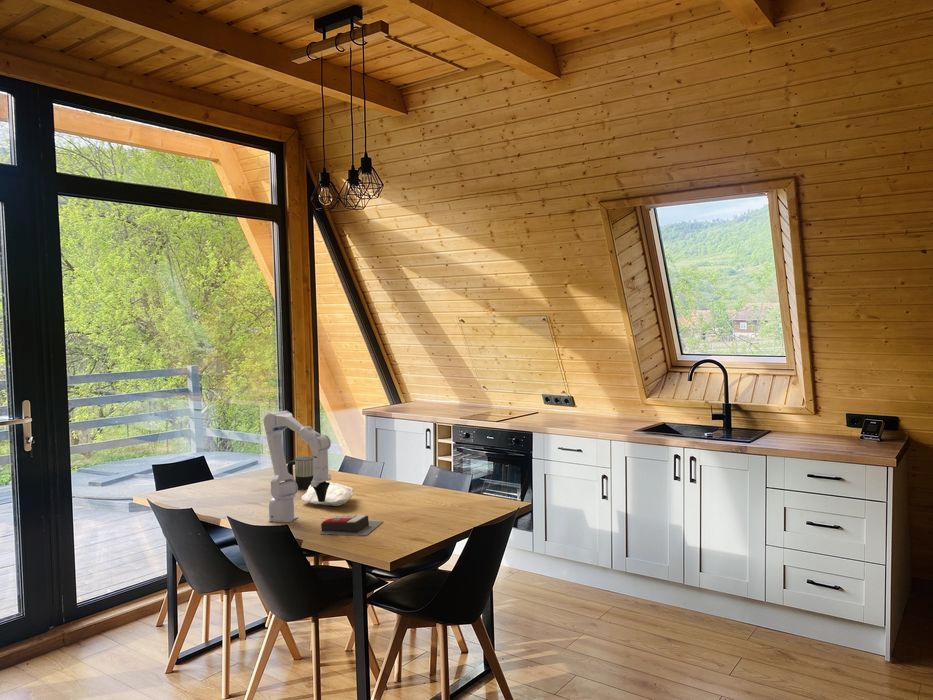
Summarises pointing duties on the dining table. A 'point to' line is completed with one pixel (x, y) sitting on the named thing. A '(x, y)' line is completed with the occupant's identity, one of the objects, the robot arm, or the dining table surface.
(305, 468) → the milk frother
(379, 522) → the placemat
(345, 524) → the calculator
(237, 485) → the dining table surface
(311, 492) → the crumpled cloth
